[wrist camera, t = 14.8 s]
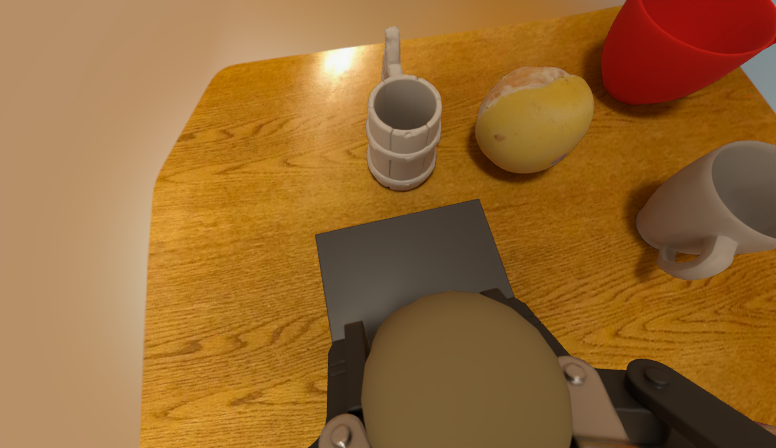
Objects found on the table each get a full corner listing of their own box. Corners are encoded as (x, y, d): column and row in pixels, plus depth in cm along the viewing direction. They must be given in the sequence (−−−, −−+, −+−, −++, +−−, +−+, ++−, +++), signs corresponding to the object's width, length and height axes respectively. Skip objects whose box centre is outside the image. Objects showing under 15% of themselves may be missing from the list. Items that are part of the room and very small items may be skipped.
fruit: (573, 149, 35) (641, 84, 26) (513, 206, 33) (564, 157, 23) (507, 97, 38) (547, 20, 28) (447, 147, 35) (468, 81, 26)
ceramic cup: (728, 129, 36) (849, 58, 26) (586, 125, 36) (656, 53, 27) (696, 48, 40) (790, -38, 31) (569, 44, 40) (624, -42, 31)
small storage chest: (501, 384, 27) (557, 414, 18) (365, 421, 26) (352, 471, 17) (453, 234, 32) (479, 198, 23) (336, 261, 31) (314, 234, 22)
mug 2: (636, 176, 34) (727, 120, 25) (715, 218, 32) (844, 176, 23) (593, 260, 31) (679, 232, 22) (678, 312, 29) (811, 306, 20)
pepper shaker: (348, 349, 17) (278, 384, 6) (428, 281, 18) (478, 217, 8) (418, 449, 15) (477, 708, 5) (501, 367, 16) (690, 433, 6)
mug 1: (374, 199, 33) (366, 132, 22) (357, 113, 37) (343, 18, 26) (441, 187, 34) (467, 116, 22) (417, 103, 37) (430, 5, 26)
